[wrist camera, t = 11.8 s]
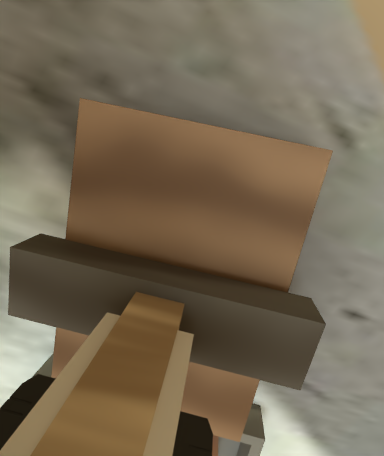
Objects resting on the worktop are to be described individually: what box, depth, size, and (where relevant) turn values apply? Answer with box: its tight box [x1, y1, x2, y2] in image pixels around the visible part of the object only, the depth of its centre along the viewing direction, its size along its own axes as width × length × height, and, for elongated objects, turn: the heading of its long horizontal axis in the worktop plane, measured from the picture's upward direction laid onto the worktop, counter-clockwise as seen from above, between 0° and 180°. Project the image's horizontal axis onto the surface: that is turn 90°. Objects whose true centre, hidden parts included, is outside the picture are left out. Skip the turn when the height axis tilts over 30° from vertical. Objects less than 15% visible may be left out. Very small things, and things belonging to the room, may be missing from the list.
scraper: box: [8, 234, 326, 456], centre depth 10 cm, size 4×16×14 cm, turn 78°
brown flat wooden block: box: [51, 98, 333, 442], centre depth 20 cm, size 20×14×4 cm
